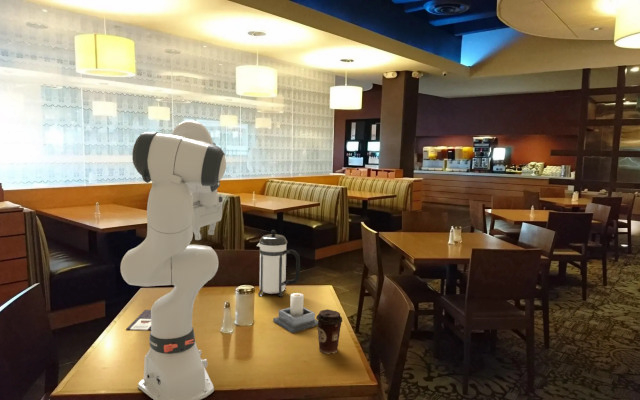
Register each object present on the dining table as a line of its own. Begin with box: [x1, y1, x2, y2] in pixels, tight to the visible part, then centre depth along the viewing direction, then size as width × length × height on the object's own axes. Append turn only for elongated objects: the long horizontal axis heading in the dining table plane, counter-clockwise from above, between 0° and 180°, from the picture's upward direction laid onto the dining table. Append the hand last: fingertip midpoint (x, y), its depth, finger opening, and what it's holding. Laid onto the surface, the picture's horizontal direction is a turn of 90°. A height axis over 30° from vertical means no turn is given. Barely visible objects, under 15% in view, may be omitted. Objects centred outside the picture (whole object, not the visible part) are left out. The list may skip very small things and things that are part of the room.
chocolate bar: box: [126, 309, 151, 331], centre depth 161 cm, size 9×1×18 cm
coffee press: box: [256, 229, 301, 298], centre depth 195 cm, size 17×16×30 cm
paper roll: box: [289, 292, 305, 317], centre depth 162 cm, size 5×5×10 cm
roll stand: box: [272, 306, 318, 334], centre depth 162 cm, size 13×13×5 cm
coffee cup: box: [315, 309, 343, 355], centre depth 141 cm, size 9×8×13 cm
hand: (204, 237), depth 153 cm, fingers open, 8 cm apart
